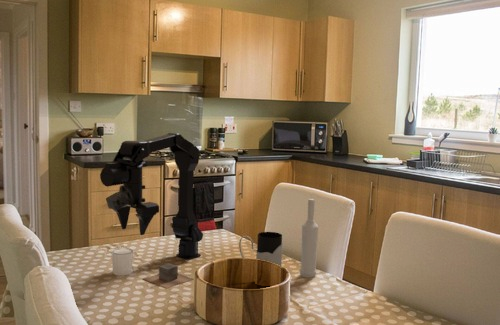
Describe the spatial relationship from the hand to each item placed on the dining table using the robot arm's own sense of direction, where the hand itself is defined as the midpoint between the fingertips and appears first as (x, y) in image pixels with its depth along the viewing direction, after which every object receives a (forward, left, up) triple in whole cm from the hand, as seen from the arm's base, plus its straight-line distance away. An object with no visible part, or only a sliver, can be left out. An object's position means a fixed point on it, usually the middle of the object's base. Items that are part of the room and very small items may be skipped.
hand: (132, 232), depth 160 cm
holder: (-25, +31, -14) cm, 42 cm away
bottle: (-40, +39, -14) cm, 58 cm away
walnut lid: (-6, +10, -15) cm, 19 cm away
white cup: (0, -5, -14) cm, 15 cm away
